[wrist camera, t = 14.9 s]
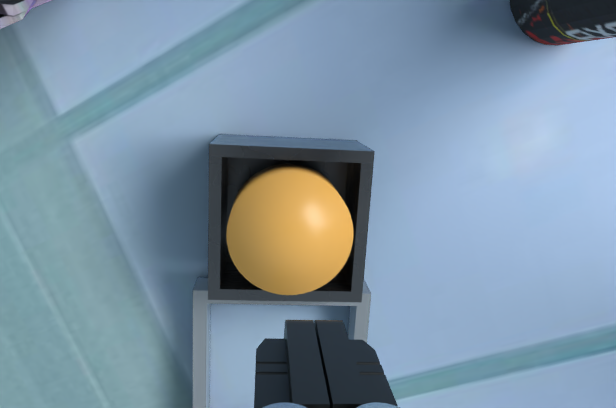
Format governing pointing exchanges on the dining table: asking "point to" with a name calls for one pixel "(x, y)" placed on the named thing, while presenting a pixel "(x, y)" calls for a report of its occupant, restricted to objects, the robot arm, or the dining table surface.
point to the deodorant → (565, 20)
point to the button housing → (272, 151)
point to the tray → (203, 305)
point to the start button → (289, 230)
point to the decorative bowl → (16, 10)
